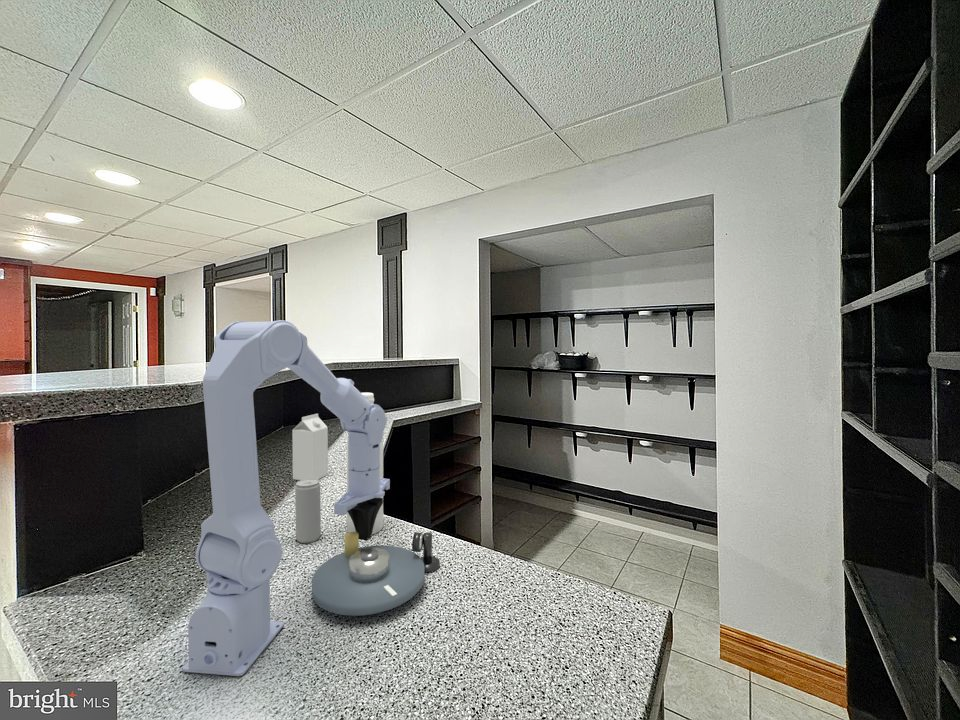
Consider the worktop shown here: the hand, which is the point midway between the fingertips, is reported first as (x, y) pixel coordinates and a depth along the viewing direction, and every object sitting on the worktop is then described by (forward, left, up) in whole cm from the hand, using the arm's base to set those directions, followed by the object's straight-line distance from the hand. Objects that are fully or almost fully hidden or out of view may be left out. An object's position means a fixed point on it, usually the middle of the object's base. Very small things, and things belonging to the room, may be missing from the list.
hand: (364, 538), depth 78 cm
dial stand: (-1, -12, -4) cm, 13 cm away
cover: (-9, -4, -1) cm, 10 cm away
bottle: (+13, +5, -4) cm, 15 cm away
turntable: (-9, -4, -3) cm, 10 cm away
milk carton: (+45, +34, -4) cm, 56 cm away
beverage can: (+7, +15, -4) cm, 17 cm away
